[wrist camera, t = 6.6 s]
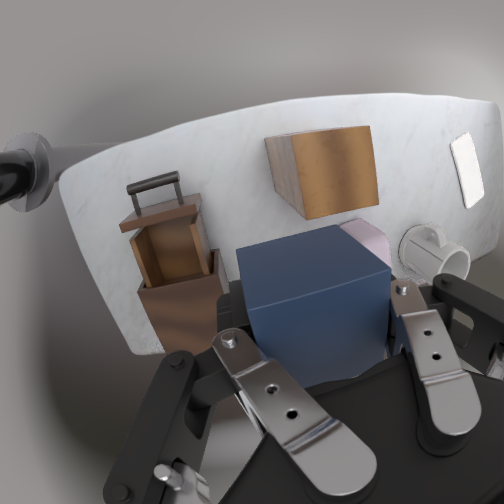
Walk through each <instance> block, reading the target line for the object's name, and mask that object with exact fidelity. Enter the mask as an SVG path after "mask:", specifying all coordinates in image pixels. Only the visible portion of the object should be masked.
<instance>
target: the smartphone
mask: <svg viewBox="0 0 504 504" xmlns="http://www.w3.org/2000/svg"><path fill="white" fill-rule="evenodd" d="M450 147H451V150H452V153H453V157H454V160H455V164H456V168H457V171H458V175H459V179H460V184H461V188H462V193H463V197H464V202H465V206H466V208H470V207H472V206H473V205H474V204H475V203H476V202H477V201H479V200H480V199H481V198H482V197H483V195H484V189H483V184H482V179H481V174H480V169H479V165H478V160H477V156H476V152H475V148H474V145H473V141H472V138H471V135H470V133H464V134H463V135H461V136H460V137H458V138H456V139H455V140H453V141H452V142H451V144H450Z"/></svg>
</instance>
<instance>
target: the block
mask: <svg viewBox="0 0 504 504" xmlns="http://www.w3.org/2000/svg"><path fill="white" fill-rule="evenodd" d="M236 254H237V260H238V265H239V271H240V277H241V282H242V288H243V293H244V299H245V304H246V310H247V314H248V317H249V320H250V324H251V327H252V331H253V334H254V337H255V341H256V344H257V346H258V347H259V348H260V349H261V351H262V352H263V353H264V354H265V355H266V356H267V358H268V359H269V358H270V357H274V358H276V359H277V360H278V362H279V363H280V364H281V365H282V366H283V367H284V368H285V369H286V370H287V371H288V372H289V373H290V375H291V376H292V377H293V378H294V379H295V380H296V381H297V382H298V383H299V384H300V385H301V386H302V387H303V388H307V387H311V386H314V385H317V384H320V383H324V382H329V381H337V380H344V379H349V378H352V377H355V376H357V375H360V374H362V373H364V372H365V371H367V370H368V369H370V368H371V367H373V366H374V365H376V364H377V363H378V362H381V361H383V360H384V354H385V346H386V338H387V330H388V320H389V308H390V293H391V270H392V269H391V267H389V266H388V265H387V264H386V263H385V262H383V261H382V260H381V259H380V258H378V257H377V256H376V255H375V254H374V253H372V252H371V251H370V250H369V249H367V248H366V247H365V246H364V245H362V244H361V243H360V242H358V241H357V240H356V239H355V238H353V237H352V236H351V235H350V234H348V233H347V232H346V231H344V230H343V229H342V228H340V227H339V226H338V225H331V226H327V227H323V228H319V229H315V230H311V231H307V232H303V233H299V234H295V235H291V236H287V237H283V238H279V239H275V240H271V241H267V242H263V243H259V244H255V245H251V246H248V247H244V248H240V249H236Z"/></svg>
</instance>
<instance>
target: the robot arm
mask: <svg viewBox="0 0 504 504" xmlns="http://www.w3.org/2000/svg"><path fill="white" fill-rule="evenodd" d="M37 177H38V167H37V162H36V159H35V157H34V155H33V154H32V152H31V151H29V150H28V149H25V148H21V149H17V150H12V151H6V152H1V153H0V207H1V206H3V205H6V204H8V203H10V202H13V201H15V200H20V199H21V198H24V197H26V196H28V195H29V194H30V193H31V192H32V191H33V189H34V188H35V185H36V182H37ZM229 290H230V293H226V294H222V295H220V297H219V298H218V300H217V302H216V306H217V335H216V336H215V337H214V338H213V340H212V346H211V347H210V348H209V349H207V350H206V351H204V352H202V353H199V354H197V355H195V356H194V355H193V354H192V353H191V352H189V351H186V350H178V351H175V352H172V353H170V354H168V355H167V356H166V357H165V358H164V359H163V360H162V362H161V364H160V366H159V368H158V370H157V372H156V374H155V376H154V378H153V380H152V382H151V384H150V386H149V388H148V391H147V393H146V395H145V397H144V399H143V401H142V403H141V405H140V407H139V409H138V412H137V414H136V416H135V418H134V420H133V422H132V425H131V427H130V429H129V431H128V433H127V435H126V438H125V440H124V442H123V444H122V447H121V449H120V451H119V453H118V455H117V458H116V460H115V462H114V465H113V467H112V469H111V472H110V474H109V476H108V479H107V481H106V483H105V486H104V488H103V498H104V501H105V503H106V504H212V503H211V502H210V499H209V485H208V483H207V481H206V480H205V479H204V478H203V477H201V476H200V475H199V474H198V473H199V470H200V466H201V462H202V459H203V455H204V451H205V447H206V444H207V439H208V436H209V432H210V428H211V425H212V421H213V417H214V414H215V410H216V406H217V402H219V401H221V400H223V399H225V398H227V397H229V396H231V395H233V394H235V396H236V397H237V399H238V401H239V402H240V404H241V405H242V407H243V408H244V410H245V412H246V413H247V414H248V416H249V418H250V419H251V421H252V423H253V424H254V426H255V428H256V429H257V431H258V433H259V434H260V436H261V437H262V440H261V442H260V443H259V445H258V446H257V448H256V450H255V451H254V453H253V454H252V456H251V457H250V459H249V461H248V462H247V464H246V465H245V467H244V468H243V470H242V471H241V472H240V474H239V476H238V477H237V479H236V480H235V481H234V483H233V484H232V485H231V487H230V488H229V490H228V491H227V493H226V494H225V495H224V497H223V498H222V499H221V501H220V502H219V503H218V504H504V300H502V299H501V298H499V297H497V296H495V295H493V294H491V293H489V292H487V291H485V290H483V289H481V288H479V287H477V286H475V285H473V284H471V283H469V282H467V281H465V280H463V279H461V278H459V277H457V276H455V275H453V274H449V273H441V274H438V275H436V276H435V277H434V278H433V282H432V285H431V286H425V287H418V286H417V285H416V283H414V282H413V281H411V280H408V279H397V278H395V277H394V276H393V275H392V274H391V293H390V308H389V320H388V330H387V338H386V346H385V347H386V351H387V357H388V359H385V360H383V361H381V362H378V363H377V364H376V365H374V366H373V367H371V368H370V369H368V370H367V371H365V372H364V373H362V374H361V375H359V376H358V377H356V378H351V379H344V380H337V381H329V382H324V383H320V384H317V385H314V386H311V387H307V388H303V387H302V386H301V385H300V384H299V383H298V382H297V381H296V380H295V379H294V378H293V377H292V376H291V375H290V373H289V372H288V371H287V370H286V369H285V368H284V367H283V366H282V365H281V364H280V363H279V362H278V360H277V359H276V358H274V357H270V358H269V359H268V358H267V356H266V355H265V354H264V353H263V352H262V351H261V349H260V348H259V347H258V346H257V344H256V341H255V337H254V334H253V331H252V327H251V324H250V320H249V317H248V314H247V310H246V304H245V299H244V293H243V288H242V282H241V279H240V280H236V281H232V282H229ZM456 309H457V310H459V311H461V312H462V313H464V314H466V315H468V316H469V317H471V318H472V320H473V322H474V327H473V330H471V329H470V328H468V327H466V326H465V325H463V324H462V323H460V322H458V321H457V320H455V319H453V318H454V314H455V310H456ZM458 357H460V358H461V359H463V360H464V361H466V362H467V363H468V364H470V365H471V366H473V367H474V368H475V369H477V370H478V371H480V372H481V373H482V374H484V375H482V374H478V373H475V372H471V371H468V370H464V369H463V368H462V366H461V363H460V361H459V358H458Z"/></svg>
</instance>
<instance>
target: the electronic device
mask: <svg viewBox="0 0 504 504" xmlns="http://www.w3.org/2000/svg"><path fill="white" fill-rule="evenodd" d="M339 227H340V228H342V229H343V230H344V231H346V232H347V233H348V234H350V235H351V236H352V237H353V238H355V239H356V240H357V241H358V242H360V243H361V244H362V245H364V246H365V247H366V248H367V249H369V250H370V251H371V252H372V253H374V254H375V255H376V256H377V257H378V258H380V259H381V260H382V261H383V262H385V263H386V264H387V265H388V266H389V267H391V253H390V243H389V240H388V238H387V236H386V234H385V233H384V232H382V231H381V230H379V229H377V228H376V227H374V226H373V225H371V224H370V223H368V222H367V221H365V220H363V219H362V218H359V219H356V220H353V221H350V222H347V223H344V224H341V225H340V226H339ZM391 274H392V270H391Z"/></svg>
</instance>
